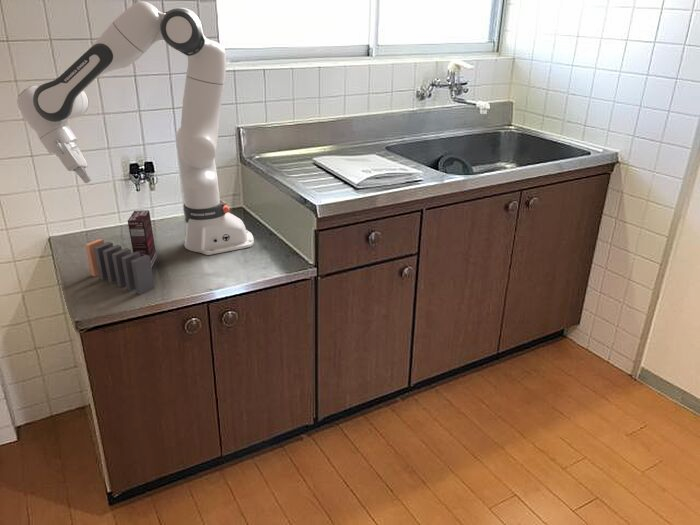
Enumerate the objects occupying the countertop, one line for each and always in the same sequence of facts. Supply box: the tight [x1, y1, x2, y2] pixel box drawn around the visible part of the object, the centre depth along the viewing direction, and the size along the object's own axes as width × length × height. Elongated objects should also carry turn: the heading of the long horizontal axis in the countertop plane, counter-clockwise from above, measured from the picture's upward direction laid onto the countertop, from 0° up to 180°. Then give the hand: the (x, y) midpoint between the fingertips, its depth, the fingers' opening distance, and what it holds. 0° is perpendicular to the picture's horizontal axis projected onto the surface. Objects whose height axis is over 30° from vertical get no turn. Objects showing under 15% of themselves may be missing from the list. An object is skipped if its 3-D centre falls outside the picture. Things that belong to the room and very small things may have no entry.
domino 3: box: [103, 244, 123, 285], centre depth 171 cm, size 2×5×10 cm, turn 147°
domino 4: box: [112, 247, 132, 288], centre depth 169 cm, size 2×5×10 cm, turn 147°
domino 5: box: [121, 251, 141, 292], centre depth 167 cm, size 2×5×10 cm, turn 147°
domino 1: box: [84, 238, 105, 278], centre depth 175 cm, size 2×5×10 cm, turn 147°
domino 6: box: [131, 255, 156, 296], centre depth 165 cm, size 2×5×10 cm, turn 147°
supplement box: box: [127, 209, 158, 268], centre depth 179 cm, size 9×5×16 cm, turn 5°
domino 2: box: [94, 241, 114, 281], centre depth 173 cm, size 2×5×10 cm, turn 147°
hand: (88, 182), depth 178 cm, fingers closed
